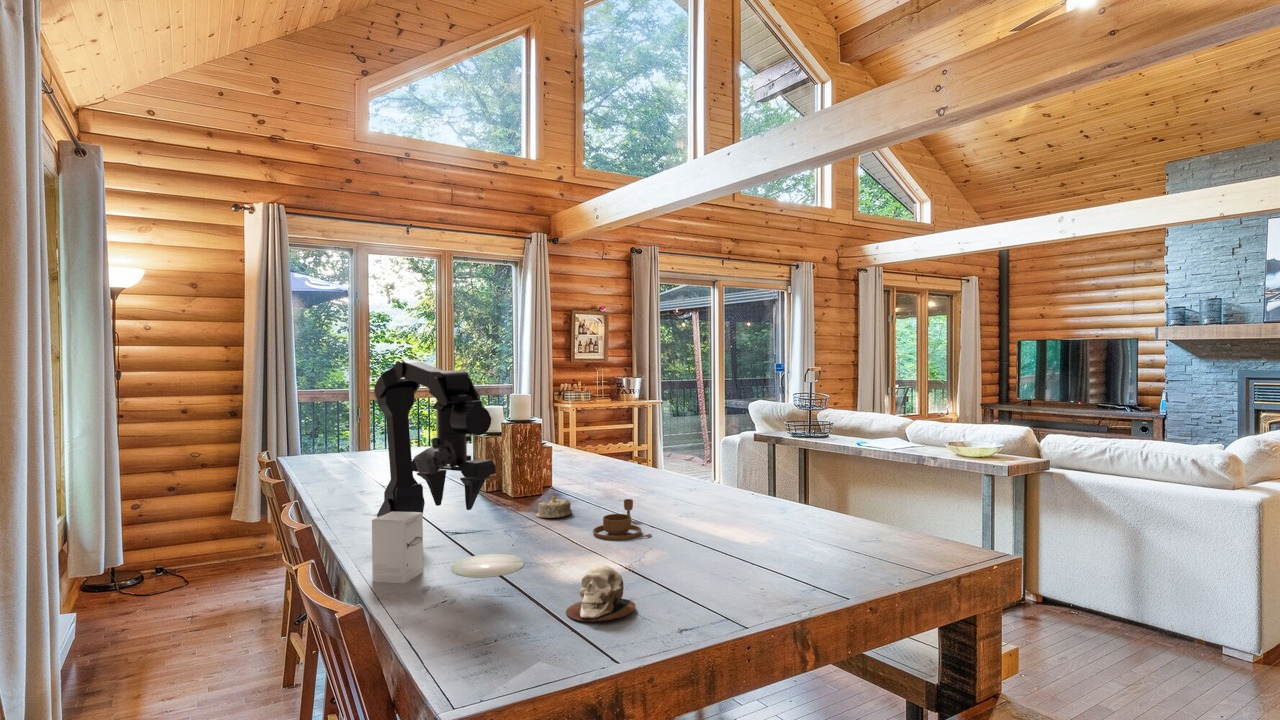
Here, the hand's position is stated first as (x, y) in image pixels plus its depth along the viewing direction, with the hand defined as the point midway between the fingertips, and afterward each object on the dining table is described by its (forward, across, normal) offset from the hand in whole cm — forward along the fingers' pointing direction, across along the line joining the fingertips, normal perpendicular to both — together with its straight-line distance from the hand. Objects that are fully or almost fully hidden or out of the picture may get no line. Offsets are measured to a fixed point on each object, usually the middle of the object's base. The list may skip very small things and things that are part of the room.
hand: (453, 507), depth 144 cm
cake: (+14, -12, +49) cm, 52 cm away
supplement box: (+13, -7, -8) cm, 17 cm away
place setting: (+14, +14, +45) cm, 49 cm away
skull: (+15, +43, -4) cm, 45 cm away
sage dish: (+13, +4, +6) cm, 15 cm away
